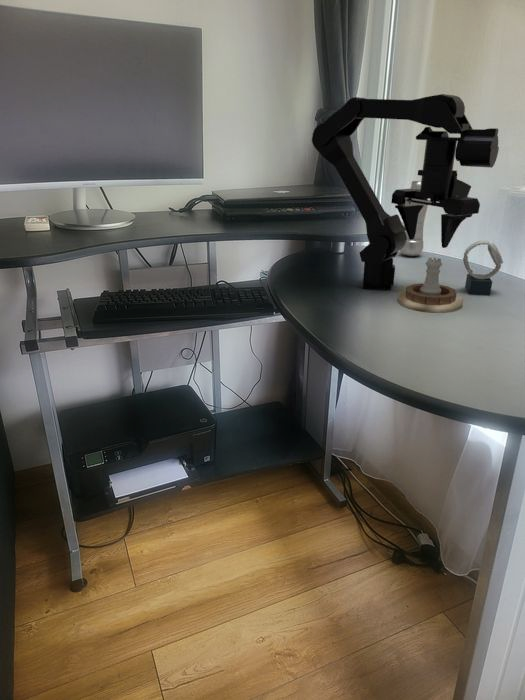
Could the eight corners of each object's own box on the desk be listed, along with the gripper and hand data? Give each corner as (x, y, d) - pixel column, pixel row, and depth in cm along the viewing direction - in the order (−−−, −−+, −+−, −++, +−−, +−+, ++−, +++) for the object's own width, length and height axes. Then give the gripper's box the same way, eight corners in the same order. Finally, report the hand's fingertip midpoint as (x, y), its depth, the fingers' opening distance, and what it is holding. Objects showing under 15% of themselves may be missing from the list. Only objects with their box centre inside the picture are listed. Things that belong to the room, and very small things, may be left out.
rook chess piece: (443, 295, 107) (448, 258, 104) (437, 301, 104) (442, 262, 101) (422, 292, 110) (426, 255, 106) (415, 298, 106) (420, 260, 103)
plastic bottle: (399, 258, 143) (407, 182, 135) (397, 252, 149) (405, 180, 141) (423, 258, 142) (432, 183, 134) (420, 253, 148) (429, 180, 140)
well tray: (398, 310, 103) (399, 297, 102) (396, 291, 114) (398, 280, 113) (466, 314, 100) (468, 301, 99) (458, 294, 112) (459, 283, 111)
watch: (499, 295, 111) (508, 245, 106) (460, 294, 112) (468, 243, 108) (494, 288, 116) (503, 239, 111) (456, 286, 117) (464, 238, 113)
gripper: (505, 166, 98) (490, 247, 104) (431, 160, 113) (422, 231, 119) (465, 169, 93) (452, 254, 99) (393, 162, 108) (386, 236, 114)
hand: (427, 243), depth 108 cm, fingers open, 9 cm apart
